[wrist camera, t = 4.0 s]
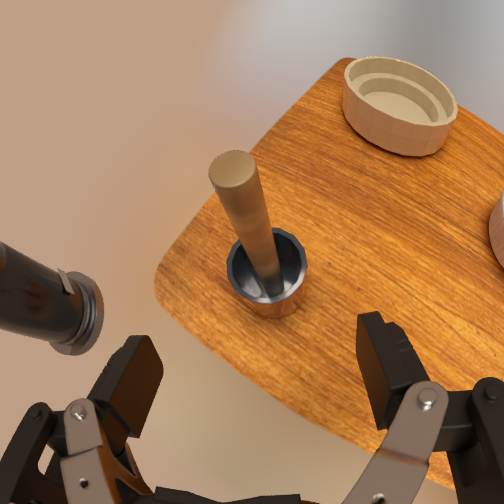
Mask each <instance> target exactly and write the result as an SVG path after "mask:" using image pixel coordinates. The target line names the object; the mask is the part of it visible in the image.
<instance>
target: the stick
mask: <svg viewBox="0 0 504 504" xmlns="http://www.w3.org/2000/svg"><path fill="white" fill-rule="evenodd" d="M209 178H210V180H211V183H212V184H213V187H214V189H215V191H216V193H217V195H218V197H219V199H220V201H221V203H222V205H223V207H224V209H225V211H226V213H227V215H228V217H229V219H230V221H231V223H232V225H233V227H234V229H235V231H236V233H237V235H238V237H239V239H240V241H241V243H242V245H243V247H244V249H245V251H246V253H247V255H248V257H249V259H250V261H251V263H252V265H253V267H254V269H255V271H256V273H257V275H258V277H259V279H260V281H261V283H262V285H263V287H264V289H265V291H266V293H267V294H268V295H269V296H272V297H275V296H277V295H280V294H282V293H283V291H284V282H283V277H282V273H281V268H280V264H279V259H278V255H277V250H276V246H275V242H274V237H273V233H272V228H271V224H270V220H269V216H268V211H267V207H266V203H265V199H264V194H263V190H262V186H261V182H260V178H259V174H258V170H257V166H256V162H255V160H254V158H253V157H252V156H251V155H250V154H248V153H247V152H244V151H239V150H233V151H228V152H225V153H223V154H221V155H219V156H218V157H217V158H215V159H214V161H213V162H212V163H211V165H210V168H209Z"/></svg>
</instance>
